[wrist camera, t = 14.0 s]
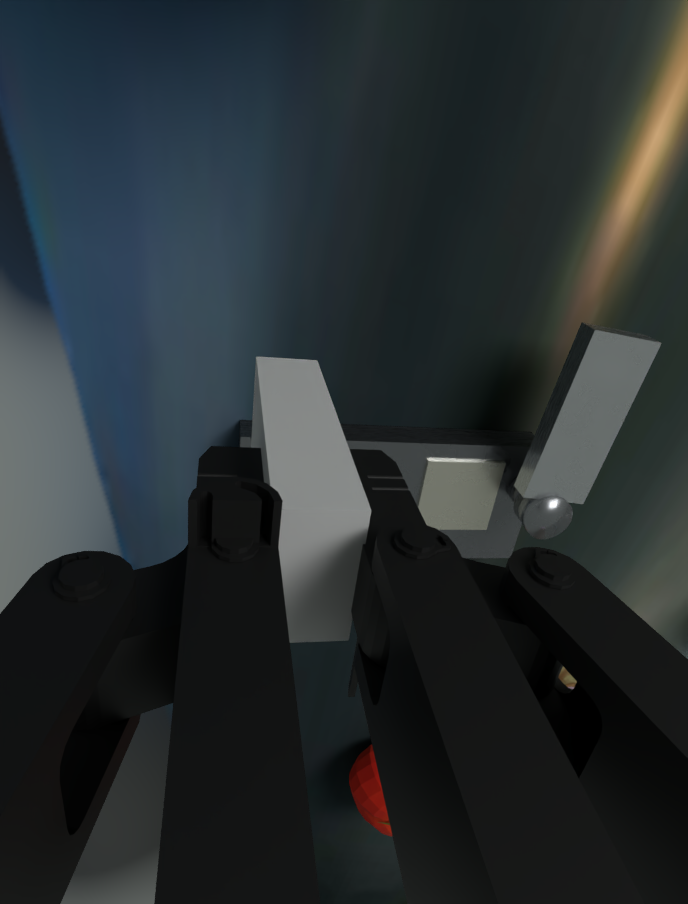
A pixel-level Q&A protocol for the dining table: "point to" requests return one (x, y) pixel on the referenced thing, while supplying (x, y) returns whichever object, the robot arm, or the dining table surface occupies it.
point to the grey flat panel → (580, 425)
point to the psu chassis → (452, 478)
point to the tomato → (369, 791)
